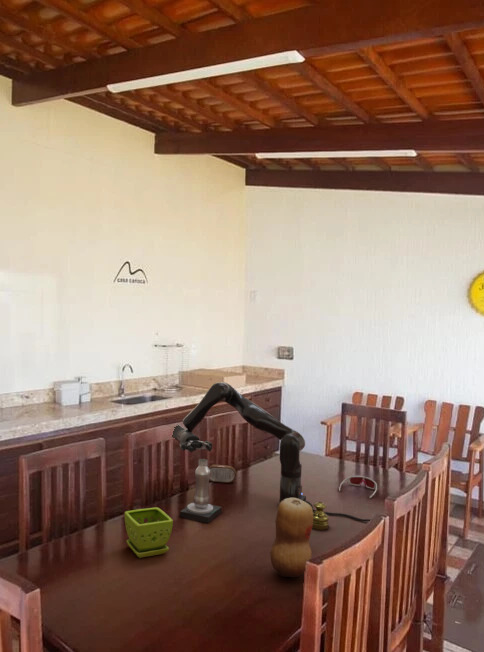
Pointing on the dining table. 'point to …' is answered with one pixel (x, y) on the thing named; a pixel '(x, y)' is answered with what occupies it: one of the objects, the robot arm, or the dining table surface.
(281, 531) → the butternut squash
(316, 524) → the golden figurine
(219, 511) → the kitchen scale
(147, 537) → the flower pot
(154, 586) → the dining table surface
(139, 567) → the dining table surface
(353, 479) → the sunglasses
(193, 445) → the robot arm
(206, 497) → the plastic bottle
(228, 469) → the tin
